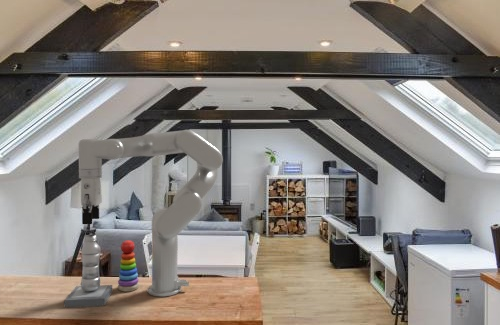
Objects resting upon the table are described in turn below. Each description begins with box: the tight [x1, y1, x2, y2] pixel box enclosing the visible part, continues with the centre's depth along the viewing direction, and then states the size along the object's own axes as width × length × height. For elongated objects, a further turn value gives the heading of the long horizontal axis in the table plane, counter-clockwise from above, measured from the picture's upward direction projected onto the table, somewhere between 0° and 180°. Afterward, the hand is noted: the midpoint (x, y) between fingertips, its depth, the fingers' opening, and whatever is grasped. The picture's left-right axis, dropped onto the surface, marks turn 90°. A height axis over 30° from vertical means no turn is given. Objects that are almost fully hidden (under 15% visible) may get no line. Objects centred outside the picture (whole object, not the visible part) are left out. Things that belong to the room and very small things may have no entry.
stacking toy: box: [117, 239, 140, 292], centre depth 145 cm, size 8×8×19 cm
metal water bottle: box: [80, 234, 102, 292], centre depth 135 cm, size 6×7×20 cm
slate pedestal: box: [64, 284, 113, 308], centre depth 134 cm, size 13×13×3 cm
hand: (91, 221), depth 134 cm, fingers open, 9 cm apart
